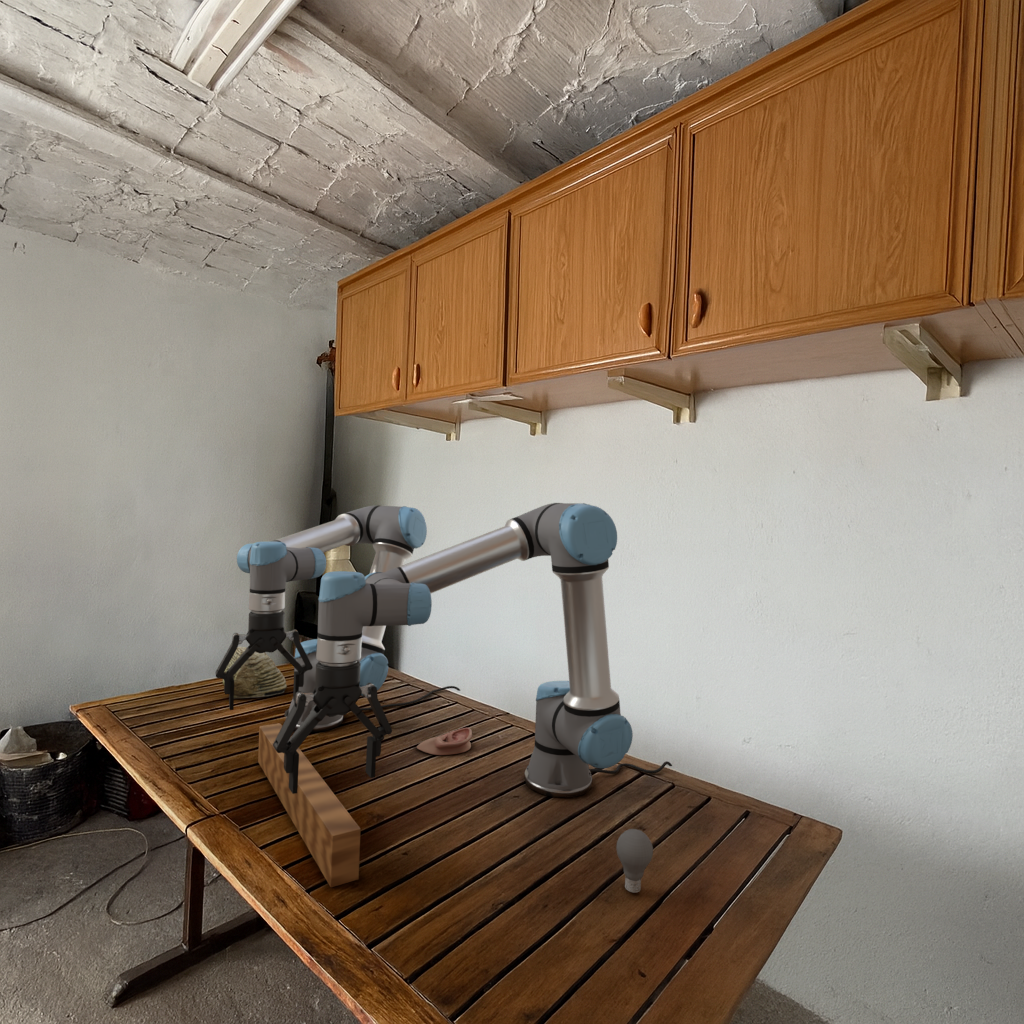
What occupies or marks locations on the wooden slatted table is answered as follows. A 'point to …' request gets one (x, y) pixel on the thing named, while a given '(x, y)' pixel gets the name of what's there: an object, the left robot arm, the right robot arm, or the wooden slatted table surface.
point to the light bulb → (634, 857)
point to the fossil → (256, 676)
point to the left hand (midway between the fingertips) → (264, 704)
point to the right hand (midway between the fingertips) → (332, 782)
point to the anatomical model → (448, 743)
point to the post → (313, 812)
